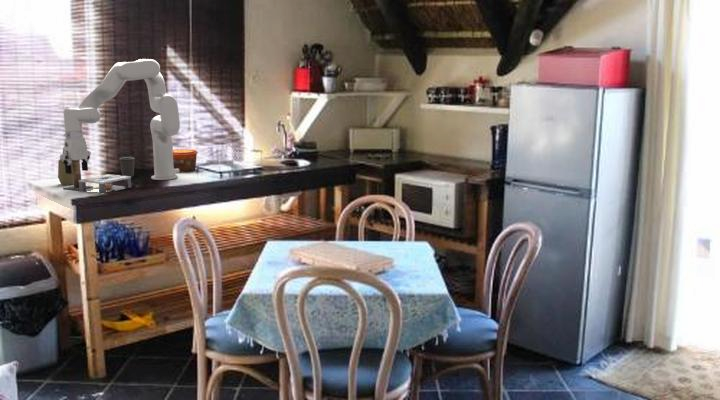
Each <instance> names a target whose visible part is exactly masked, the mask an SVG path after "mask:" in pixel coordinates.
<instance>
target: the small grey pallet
mask: <svg viewBox="0 0 720 400" xmlns="http://www.w3.org/2000/svg"><path fill="white" fill-rule="evenodd" d="M118 181H124V186H123V185H114V184H113V183H114V182H118ZM86 183H89V184H98V186H97V187H93V188H89V189H86V186H87V184H86ZM106 184H110V189H108V190H109V191H110V190H111V191H112V190H115V191H114V192H117V191H121V190H125V189H130V188H132V177H131V176H122V175H120V174H109V173H107V174H102V175H98V176H97V175H96V176H92V177H87V178H83V179H82V178H81V180H79V191H78V192H82V191H83V193H86V192H85V191H91V190H93V189H99V193H98V194H101V193H104V194H107V193H106ZM108 190H107V191H108Z"/></svg>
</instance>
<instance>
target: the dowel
mask: <svg viewBox="0 0 720 400" xmlns="http://www.w3.org/2000/svg"><path fill="white" fill-rule="evenodd" d="M72 170H73V181H74V184H73V186H74V188H79V180H81V179H82V172H81V171H82V170H81V161H80V160H75V161H73V160H72Z"/></svg>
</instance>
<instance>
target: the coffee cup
mask: <svg viewBox="0 0 720 400" xmlns="http://www.w3.org/2000/svg"><path fill="white" fill-rule="evenodd" d="M135 160H136V158H135V157H133V156H122V157H120V158H119V159H118V161H119V164H120V169H121V174H122V175H121V176H131V178H132V177H134V175H135V174H134V173H135Z"/></svg>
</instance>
